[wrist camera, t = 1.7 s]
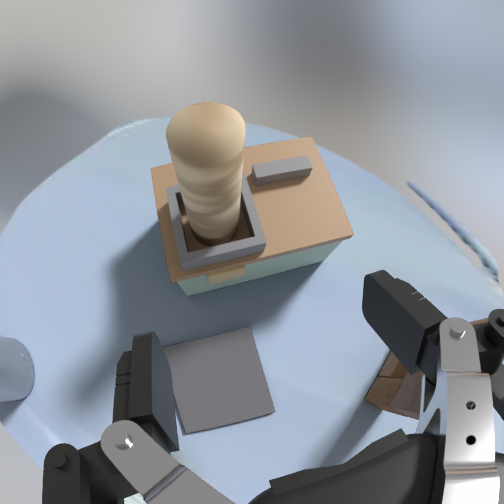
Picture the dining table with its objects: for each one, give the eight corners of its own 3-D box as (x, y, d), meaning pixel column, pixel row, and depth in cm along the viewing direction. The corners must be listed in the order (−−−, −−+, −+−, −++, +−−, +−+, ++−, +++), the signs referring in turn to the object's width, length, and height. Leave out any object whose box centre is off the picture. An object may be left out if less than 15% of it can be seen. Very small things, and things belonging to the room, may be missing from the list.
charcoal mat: (186, 432, 33) (186, 433, 32) (162, 347, 36) (161, 347, 35) (274, 410, 34) (275, 411, 34) (250, 326, 37) (250, 325, 37)
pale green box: (185, 301, 38) (165, 276, 26) (166, 209, 41) (145, 155, 29) (326, 264, 40) (364, 227, 28) (296, 180, 44) (316, 123, 32)
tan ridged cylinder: (196, 252, 29) (171, 169, 16) (187, 209, 30) (162, 111, 17) (244, 240, 30) (255, 151, 17) (232, 199, 31) (234, 96, 18)
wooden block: (362, 399, 35) (448, 420, 18) (400, 329, 38) (492, 306, 21) (383, 410, 35) (471, 433, 18) (418, 341, 38) (512, 324, 21)
